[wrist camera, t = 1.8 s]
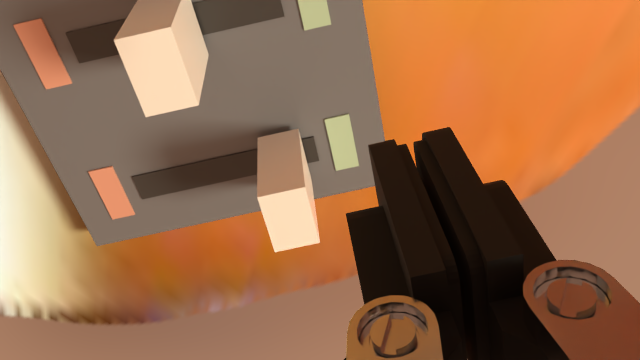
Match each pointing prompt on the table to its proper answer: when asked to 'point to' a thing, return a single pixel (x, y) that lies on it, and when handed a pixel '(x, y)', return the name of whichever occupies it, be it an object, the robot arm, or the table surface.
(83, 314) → the table surface
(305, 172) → the block
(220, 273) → the table surface
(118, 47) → the block
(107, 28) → the breaker panel
